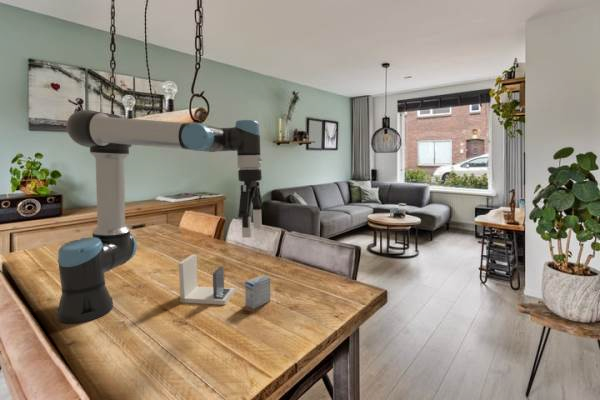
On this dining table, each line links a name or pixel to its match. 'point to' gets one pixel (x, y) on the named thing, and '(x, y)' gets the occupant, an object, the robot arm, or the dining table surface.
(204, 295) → the white l-shaped stand
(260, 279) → the medicine box
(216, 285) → the bookend
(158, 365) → the dining table surface
